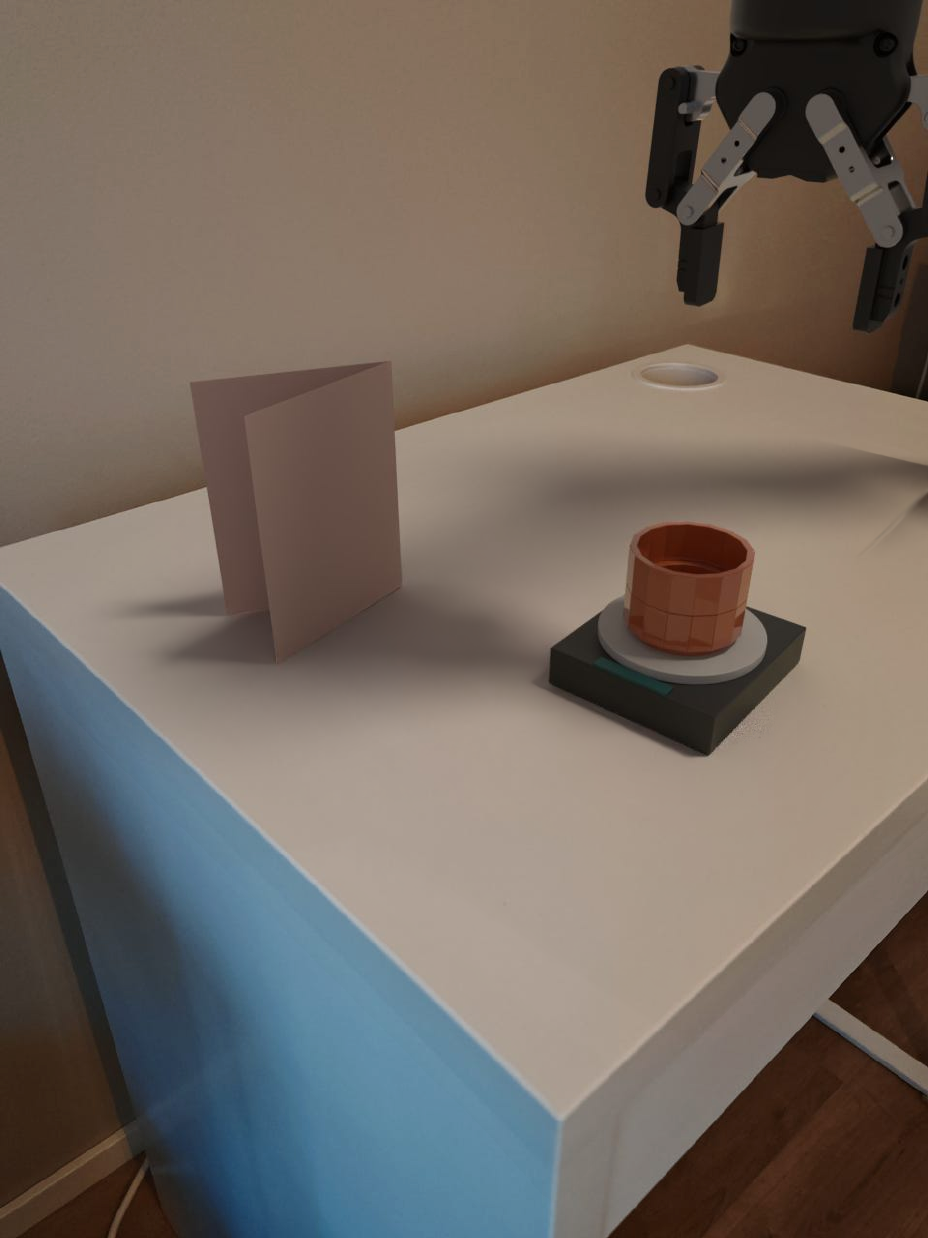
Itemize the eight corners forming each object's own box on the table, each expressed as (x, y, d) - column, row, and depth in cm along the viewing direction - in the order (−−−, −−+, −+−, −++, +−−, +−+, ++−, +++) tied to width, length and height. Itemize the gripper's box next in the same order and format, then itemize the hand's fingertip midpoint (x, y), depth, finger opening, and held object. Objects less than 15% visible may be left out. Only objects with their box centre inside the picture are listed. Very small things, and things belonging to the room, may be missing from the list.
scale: (649, 605, 61) (654, 564, 60) (800, 661, 56) (809, 617, 54) (548, 683, 54) (550, 638, 53) (708, 756, 49) (716, 708, 47)
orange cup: (660, 587, 57) (669, 511, 55) (761, 624, 54) (775, 543, 51) (601, 632, 53) (607, 551, 51) (705, 674, 50) (718, 590, 47)
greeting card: (398, 579, 65) (387, 356, 57) (431, 635, 59) (423, 395, 51) (225, 608, 61) (188, 377, 54) (241, 671, 56) (201, 421, 48)
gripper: (1064, -115, 36) (958, 321, 45) (719, -85, 44) (685, 280, 53) (1008, -130, 32) (901, 361, 40) (633, -94, 39) (610, 310, 48)
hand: (778, 315), depth 46 cm, fingers open, 8 cm apart
